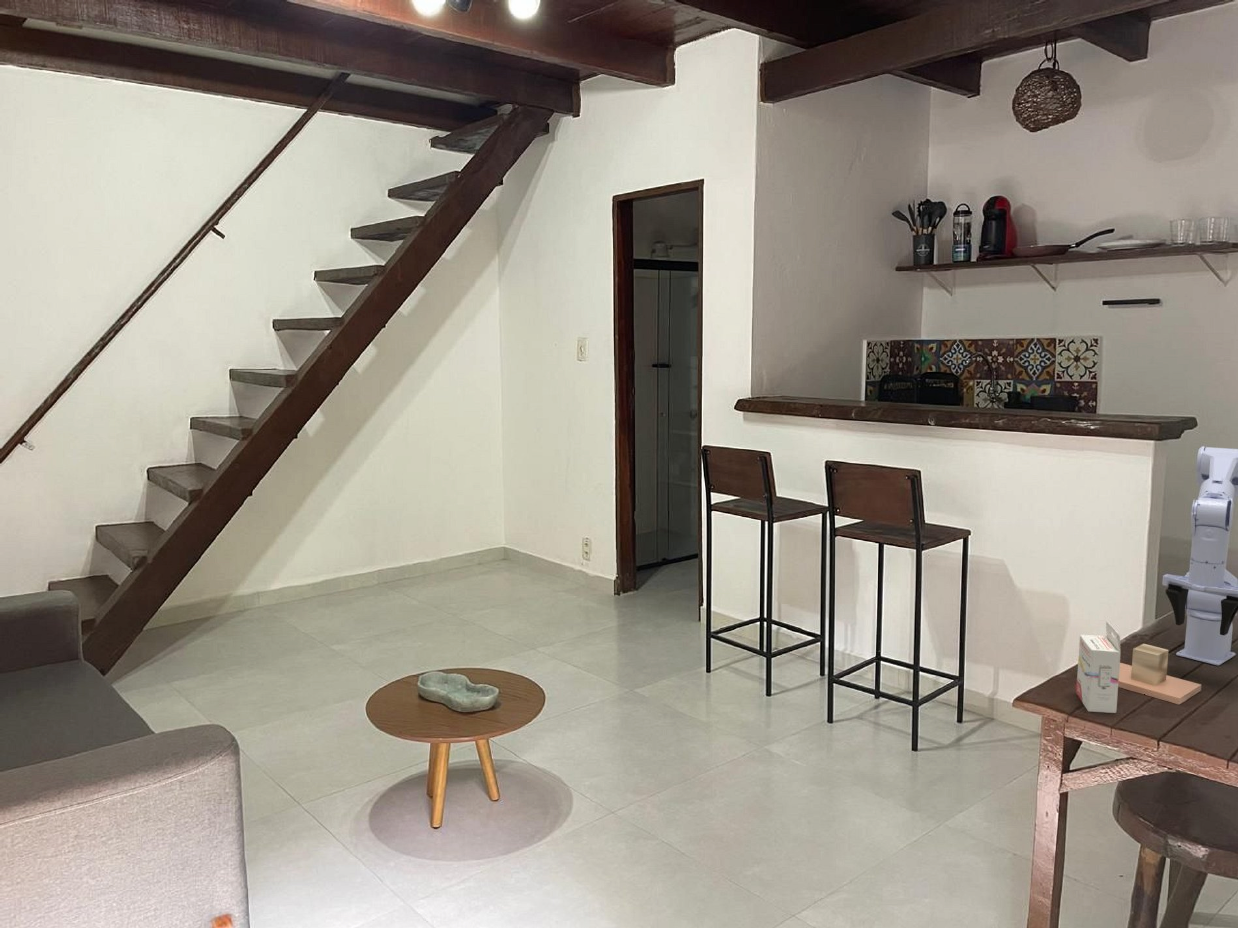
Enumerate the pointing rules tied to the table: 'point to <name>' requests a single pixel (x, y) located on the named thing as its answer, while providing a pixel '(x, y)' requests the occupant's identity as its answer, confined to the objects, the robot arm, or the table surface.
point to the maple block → (1149, 664)
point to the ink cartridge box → (1099, 671)
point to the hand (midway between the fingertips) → (1201, 628)
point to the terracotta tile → (1159, 686)
